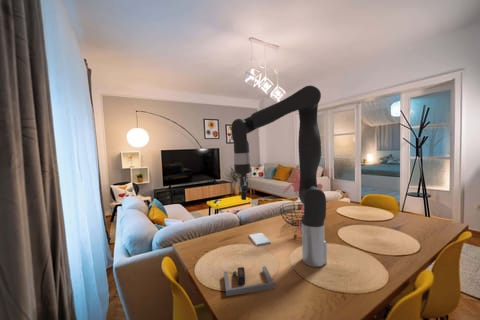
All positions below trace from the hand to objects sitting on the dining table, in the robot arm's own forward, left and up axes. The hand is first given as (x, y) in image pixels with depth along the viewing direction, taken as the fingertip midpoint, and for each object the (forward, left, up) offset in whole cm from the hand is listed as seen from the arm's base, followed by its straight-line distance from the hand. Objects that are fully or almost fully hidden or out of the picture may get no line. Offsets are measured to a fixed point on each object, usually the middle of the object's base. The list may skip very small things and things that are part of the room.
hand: (243, 199), depth 95 cm
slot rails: (+3, +19, -27) cm, 33 cm away
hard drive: (-10, -14, -28) cm, 33 cm away
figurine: (-37, -18, -27) cm, 49 cm away
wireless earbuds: (+6, +16, -27) cm, 32 cm away
